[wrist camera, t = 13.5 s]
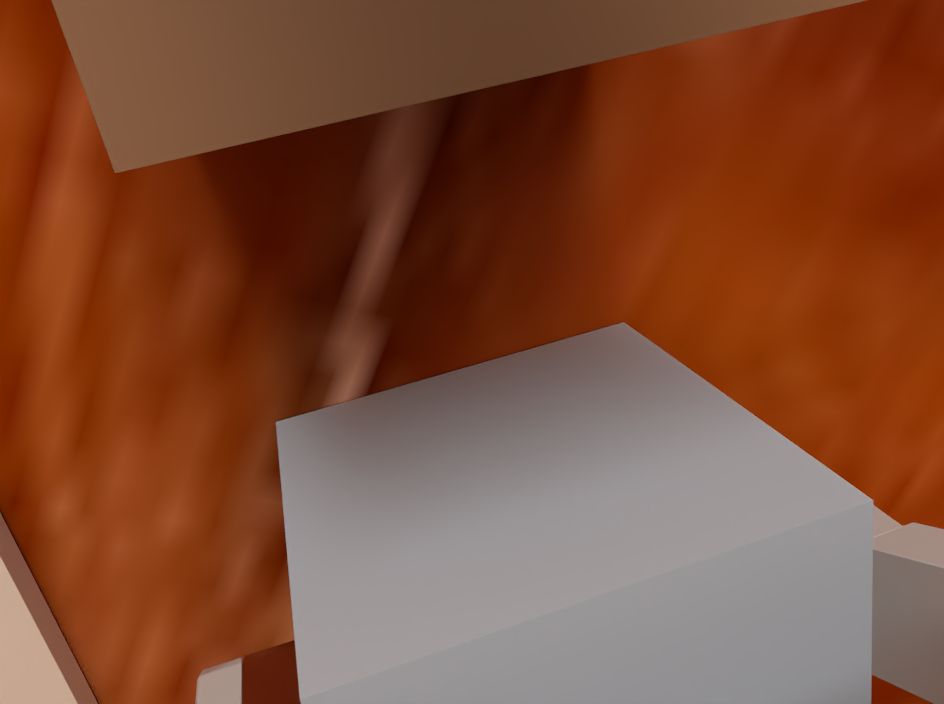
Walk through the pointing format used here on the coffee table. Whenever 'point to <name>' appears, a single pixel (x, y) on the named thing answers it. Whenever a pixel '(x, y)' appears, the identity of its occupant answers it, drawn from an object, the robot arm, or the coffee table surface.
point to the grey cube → (570, 541)
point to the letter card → (32, 639)
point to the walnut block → (344, 57)
